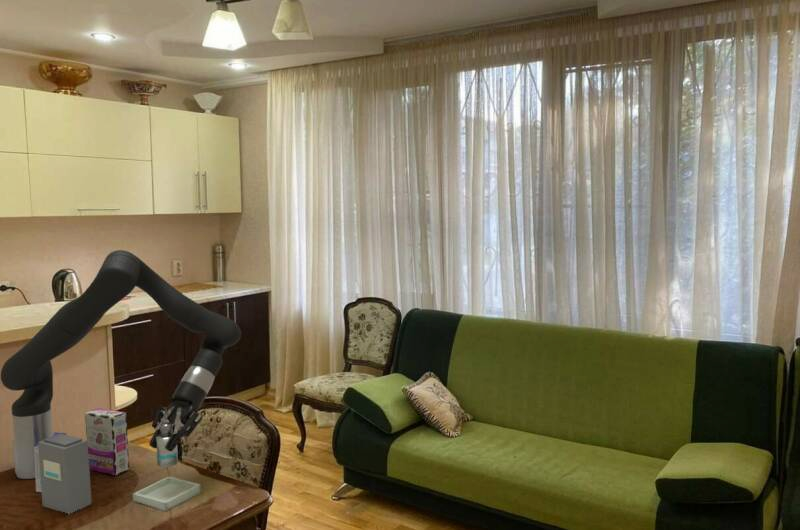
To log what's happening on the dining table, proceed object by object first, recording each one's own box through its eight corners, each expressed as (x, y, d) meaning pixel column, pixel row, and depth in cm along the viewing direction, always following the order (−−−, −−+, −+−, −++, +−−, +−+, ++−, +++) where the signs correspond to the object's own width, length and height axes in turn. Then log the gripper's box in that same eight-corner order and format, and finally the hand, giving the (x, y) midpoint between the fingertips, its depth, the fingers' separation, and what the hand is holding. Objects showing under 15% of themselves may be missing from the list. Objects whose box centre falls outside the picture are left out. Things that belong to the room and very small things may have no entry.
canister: (152, 464, 161) (151, 424, 160) (170, 458, 164) (168, 419, 164) (165, 468, 158) (163, 428, 157) (182, 462, 162) (180, 423, 161)
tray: (133, 501, 160) (132, 493, 160) (169, 483, 170) (168, 476, 170) (166, 511, 154) (165, 503, 154) (201, 491, 164) (201, 484, 164)
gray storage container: (41, 506, 158) (36, 440, 156) (65, 496, 164) (60, 432, 162) (67, 515, 153) (63, 447, 152) (91, 503, 159) (87, 438, 157)
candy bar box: (130, 469, 179) (127, 412, 178) (115, 476, 175) (112, 417, 173) (102, 463, 184) (99, 407, 183) (87, 470, 180) (83, 412, 178)
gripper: (222, 397, 168) (190, 459, 158) (182, 391, 174) (149, 450, 165) (206, 383, 162) (172, 446, 153) (165, 377, 169) (130, 437, 160)
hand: (160, 448), depth 159 cm, fingers closed on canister, 4 cm apart
